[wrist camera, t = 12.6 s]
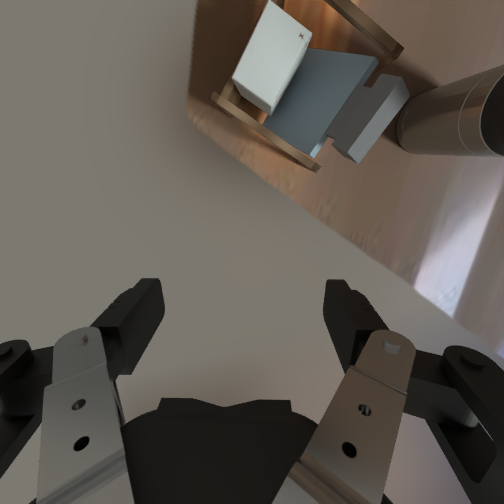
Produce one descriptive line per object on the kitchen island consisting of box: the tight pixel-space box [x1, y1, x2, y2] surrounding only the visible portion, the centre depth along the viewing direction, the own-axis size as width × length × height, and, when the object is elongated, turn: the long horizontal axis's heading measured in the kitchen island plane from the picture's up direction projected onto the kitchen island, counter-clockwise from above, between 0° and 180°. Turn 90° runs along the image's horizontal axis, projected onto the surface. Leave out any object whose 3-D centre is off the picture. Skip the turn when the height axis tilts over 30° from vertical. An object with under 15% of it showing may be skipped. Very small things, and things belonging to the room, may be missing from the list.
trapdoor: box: [262, 47, 410, 164], centre depth 32 cm, size 18×12×3 cm
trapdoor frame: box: [210, 0, 404, 173], centre depth 33 cm, size 15×15×14 cm
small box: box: [232, 0, 312, 116], centre depth 31 cm, size 8×6×10 cm
